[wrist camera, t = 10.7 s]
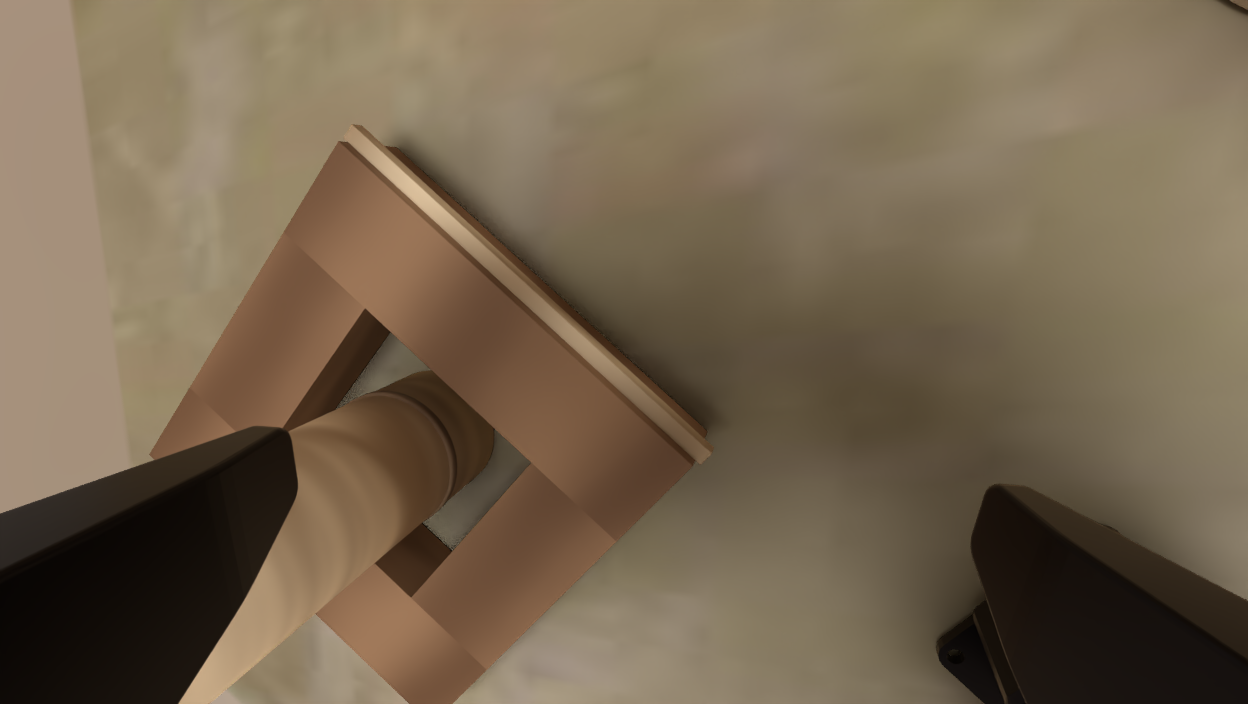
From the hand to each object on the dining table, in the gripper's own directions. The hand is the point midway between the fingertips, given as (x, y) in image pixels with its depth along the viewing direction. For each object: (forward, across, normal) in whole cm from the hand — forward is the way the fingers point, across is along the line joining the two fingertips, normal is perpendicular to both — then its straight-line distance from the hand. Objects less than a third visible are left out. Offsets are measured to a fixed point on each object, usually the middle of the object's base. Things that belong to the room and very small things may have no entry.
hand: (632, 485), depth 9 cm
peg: (+14, +7, +8) cm, 18 cm away
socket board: (+14, +7, +8) cm, 18 cm away
